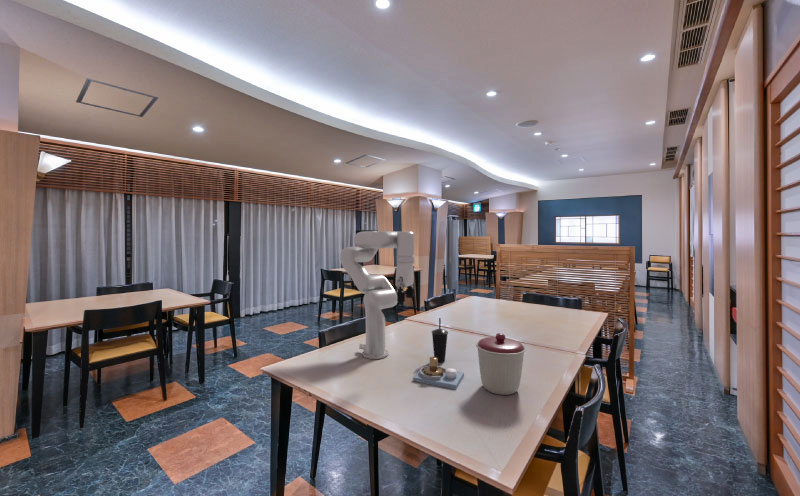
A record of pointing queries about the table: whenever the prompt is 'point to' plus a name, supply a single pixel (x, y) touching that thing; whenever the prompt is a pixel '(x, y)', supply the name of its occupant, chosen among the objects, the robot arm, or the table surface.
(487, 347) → the canister
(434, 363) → the bronze gear
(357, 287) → the robot arm
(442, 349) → the drinking cup
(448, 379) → the carrier plate
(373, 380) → the table surface
